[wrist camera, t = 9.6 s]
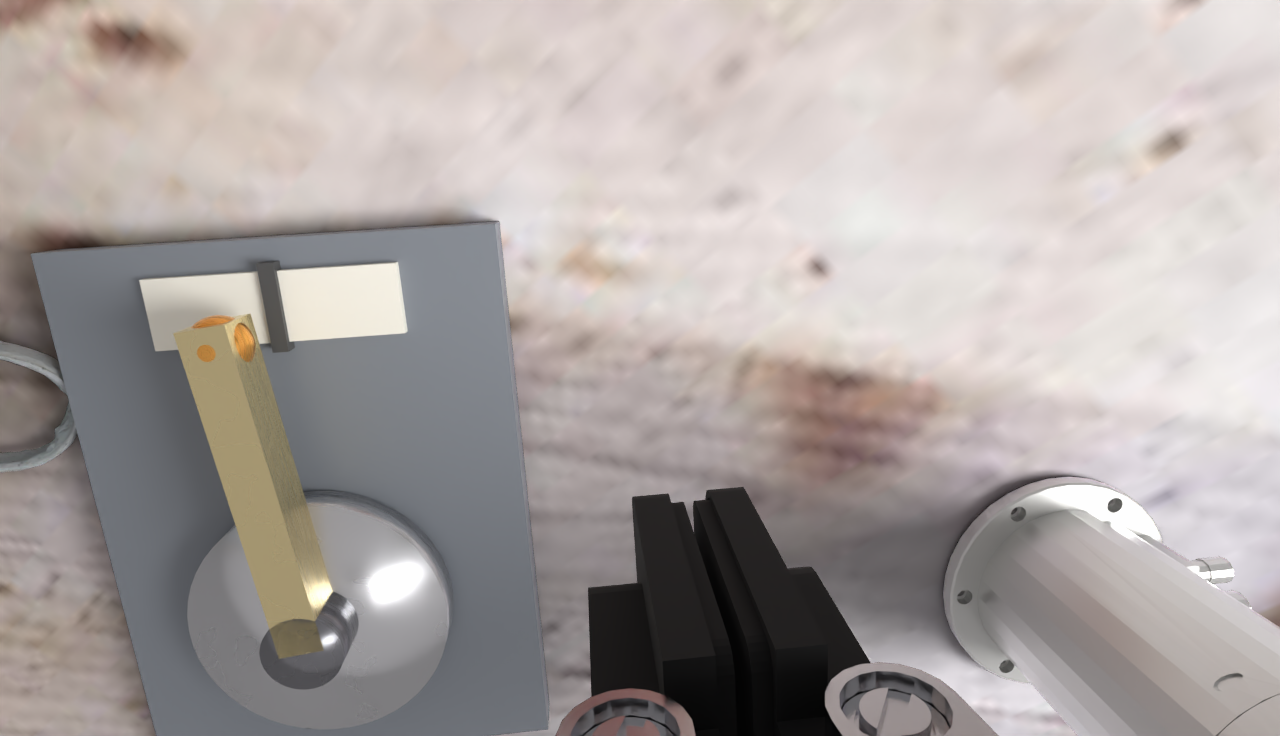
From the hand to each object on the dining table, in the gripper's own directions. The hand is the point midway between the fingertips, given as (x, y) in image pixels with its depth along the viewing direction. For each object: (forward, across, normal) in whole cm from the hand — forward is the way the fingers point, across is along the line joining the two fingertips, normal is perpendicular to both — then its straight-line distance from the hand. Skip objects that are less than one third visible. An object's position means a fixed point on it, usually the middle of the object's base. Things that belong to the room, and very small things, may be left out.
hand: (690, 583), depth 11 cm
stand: (+27, +15, +10) cm, 32 cm away
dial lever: (+25, +15, +9) cm, 31 cm away
